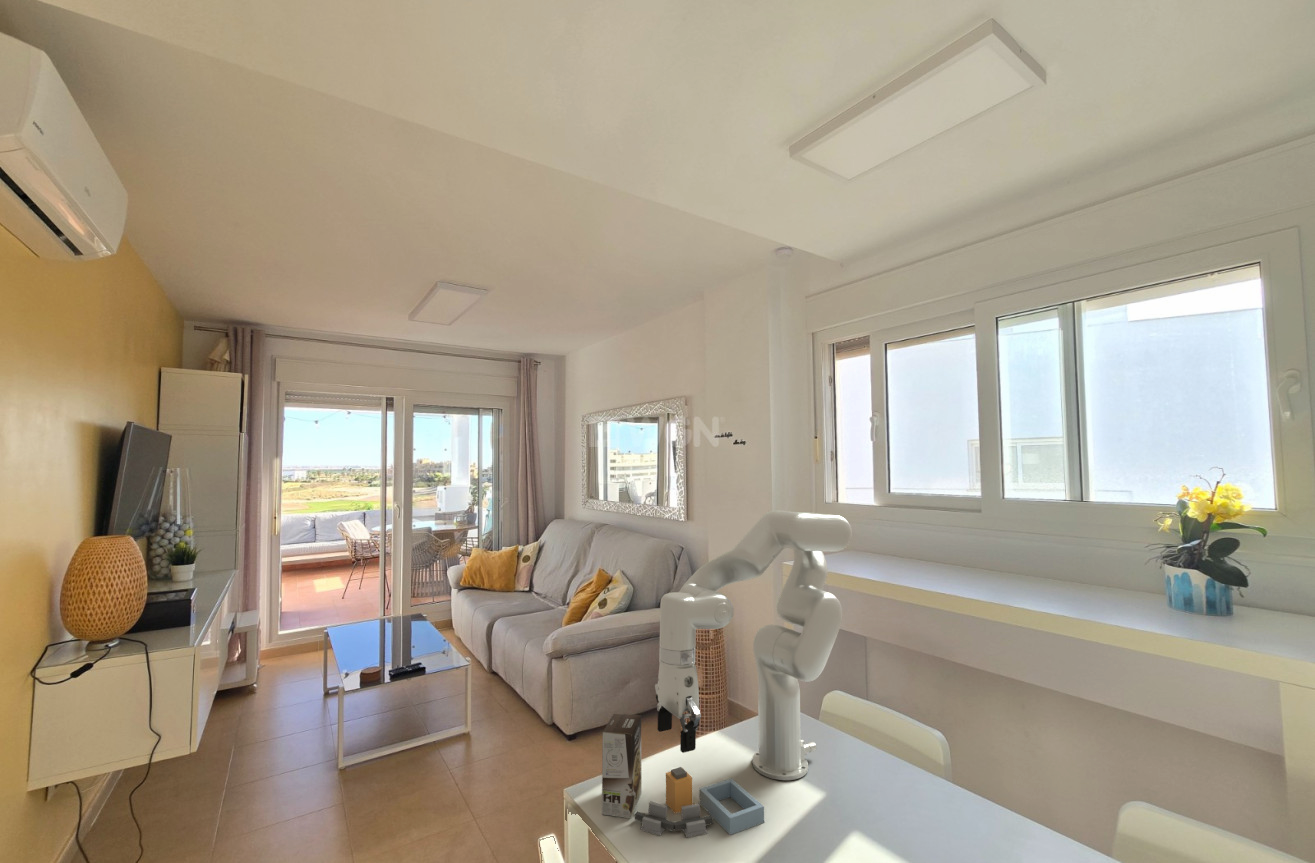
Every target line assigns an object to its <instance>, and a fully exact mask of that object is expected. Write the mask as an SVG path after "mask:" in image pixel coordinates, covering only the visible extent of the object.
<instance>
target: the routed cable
mask: <svg viewBox="0 0 1315 863" xmlns="http://www.w3.org/2000/svg"><path fill="white" fill-rule="evenodd" d="M643 817H648V818H651V819H654V820H658V821H661V827H662V828H665V829H666V830H669V831H673V832H674V831H675V832H677V831H683V829H686V823H689V822H694V821H699V820H704V821H705V826H707V825H713V823H714V818H713V817H712V816H711V815H710V814H709V815H704V816H700V817H698V818H693V819H688V820H683V821H681V820H678V821H672V820H668V819H667V820H666V819H662V818H659V817H655V816H652V815H649V813H644V812H641V811H635V813H634V821H635V820H636V821H639V822H642V819H643ZM665 829H664V830H665Z"/></svg>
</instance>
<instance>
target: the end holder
mask: <svg viewBox="0 0 1315 863" xmlns="http://www.w3.org/2000/svg"><path fill="white" fill-rule="evenodd" d="M698 792H699V794H698V795H699V796H698V797H699V805H700V807H702V808H703V809H704V810H705V811H706V812H707V813H708V814H709V815H711V816H712V818H713V820H715V821H716V822H717V823H718V824H719V826H721V827H722V828H723V829H724V830H725V831H726V832H727V834H729V835H730V836H731V835H735V834H737V833H740V832H742V831H744V830H749V829H751V828H754V827H756V826H758V825H761V824H763V823H765V806H764V805H763V804H762V803H761V802H760V801H758V800H757V799H756V798H755V797H754V796H753V795H751V794H750V793H749V792H748V791H747V790H745V788H743V786H741V785H740V784H738V782H736V781H735V780H734V779H733V778H729V779H725V780H722V781H720V782H719V781H718V782H715V783H712V784H709V785H707V786H703V787H699V790H698ZM728 798H731V799H732V800H734V802H735V803H737V805H739V806H740V807H741V808H742V809H741V810H739V811H736V812H733V813H731V812H730V811H729V810H728V809H727V808H726V807H725V806H724V805H723V804H722V803H721V802H720V801H723V800H724V799H728Z"/></svg>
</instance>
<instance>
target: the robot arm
mask: <svg viewBox="0 0 1315 863" xmlns="http://www.w3.org/2000/svg"><path fill="white" fill-rule="evenodd" d="M852 530H853V529H852V526H851V524H850V523H849V521H848V520H847V519H846V518H844V517H843V516H841V515H839V514H836V515H835V514H828V513H817V512H806V511H805V512H798V511H789V510H778V509H777V510H770V511H768V512H766V513H765V514H763V515H762V517H760V519H759V520H758V521H757V522H756V523H755V524H754V525H753V526H752V528H751V529H750V530H749V531H747V533H746V534H745V535H744V536H743V538H742V539H740V541H739V542H738V543H737V544H736V545H735V546H734V547H733V548H732V549H731V550H729V551H726V552H725V553H722V554H721V555H719V556H717V557H716V558H713V559H712V560H710V561H708V562H706V563H704V564H703V565H702V566H700V568H698V569H697V570H696V571H695V572H693V574H692V575H691V576H690V577H689V578H688V580H686V582H685V583H684V584H683V585H682V586H681V588H680V590H679V591H677V592H668V593H665V594H663V596H661V598H660V611H659V654H658V655H659V656H658V657H659V659H658V662H659V668H658V677H657V683H655V684H654V689H655V694H656V695H655V699H656V702H657V703H656V704H657V705H656V709H657V727H656V728H657V731H658V732H659V733H660V732H665V731H671V730H672V728H673V725H672V724H673V716H675V717H676V718H678V719H679V722H680V725H681V730H680V741H679V742H680V743H679V744H680V747H679V748H680V750H679V751H680V752H681V753H683V754H684V753H689V752H693V751H695V750H696V746H697V744H696V742H697V740H696V738H697V737H696V736H697V732H696V731H698V727H699V726H700V721H701V718H702V713H701V712H700V695H699V694H700V691H699V690H700V689H699V677H698V670H697V665H696V644H697V640H696V638H697V636H696V634H697V630H698V629H699V630H700V629H702V630H703V629H706V630H719V629H722V628H724V627H725V626H727V625H728V624H730V622H731V621H732V620H733V617H734V612H735V608H734V605H733V602H732V601H731V600H730V598H729V597H727V595H724V594H723V593H721V592H718V591H720V589H722V588H724V587H726V586H728V585H731V584H734V583H738V582H743V581H748V580H751V579H755V578H758V577H761V576H762V575H763V574H764V573H765V571H766V570H767V569H768V568H769V567H770V566H771V564H772V563H773V562H774V561H775V559H776V558H777V557H778V556H779V555H780V554H781V553H782V552H783V550H784V549H791V550H792V551H793V564H792V566H791V569H790V572H789V573H788V576H787V579H786V581H785V583H784V586H783V588H782V589H781V592H780V594H779V598H778V599H777V603H776V614H777V615H778V617H779V618H780V620H782V621H784V622H786V623H787V624H790V625H792V626H795V627H797V628H801V629H802V630H801V632H799V631H797V630H793V629H791V628H787V627H785V626H781V625H779V624H766V625H764V626H762V627H760V628H759V629H758V631H756V633H755V635H754V637H753V642H752V651H753V655H754V656H753V657H754V661H755V665H756V666H755V668H756V674H757V675H756V676H757V687H758V688H757V699H758V700H757V703H758V704H757V705H758V706H757V707H758V709H757V711H758V713H757V714H758V717H757V718H758V750H757V751H756V752H755V753H754V754H753V755H752V758H751V759H752V760H751V761H752V767H753V768H754V769H755V770H756V772H757V773H759V774H761V775H762V776H764V777H766V778H769V779H772V780H776V781H777V780H778V781H795V780H798V779H800V778H803V777H804V776H805V775H806V774H807V773H808V771H809V763H808V760H807V759H806V758H805V756H807V755H808V753H812V752H814V751H817V744H816V742H814V741H810V742H808V743H807V742H806V743H805V741H804V739H801V735H802V734H801V691H800V685H799V684H800V683H799V681H802V682H806V683H807V682H812V681H815V680H816V679H818V677H820V675H821V674H822V672H823V671H824V669H825V667H826V665H827V663H828V660H829V658H830V655H831V652H832V649H833V647H834V646H835V645H834V644H835V642H836V640H837V637H838V634H839V631H840V629H841V625H842V622H843V607H842V605H841V601H840V600H839V599H838V598H837V597H836V596H835V595H834V594H833V593H831V592H828V591H825V590H824V587H825V584H826V581H827V579H828V573H829V572H828V571H829V569H828V562H827V560H826V556H825V554H824V552H832V553H833V552H834V553H835V552H836V553H837V552H840V551H843V550H844V549H846V548H848V546H849V544H850V542H851V540H852V536H853V531H852ZM685 712H688V713H685ZM686 719H688V720H689V721H688V722H686V721H687V720H686Z"/></svg>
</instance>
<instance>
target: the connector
mask: <svg viewBox="0 0 1315 863" xmlns="http://www.w3.org/2000/svg"><path fill="white" fill-rule="evenodd" d="M665 805H667V807H668V808H670V810H671V811H672V812H673V813H674V814H676V815H677V814H678V813H681V807H682V806H687V805H693V776H691V774H689V773H688V772H687V771H686V770H685V769H684V768H683V767H681V766H680V767H679V766H678V767H676V768H673V769H670V771H668V772H665Z"/></svg>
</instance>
